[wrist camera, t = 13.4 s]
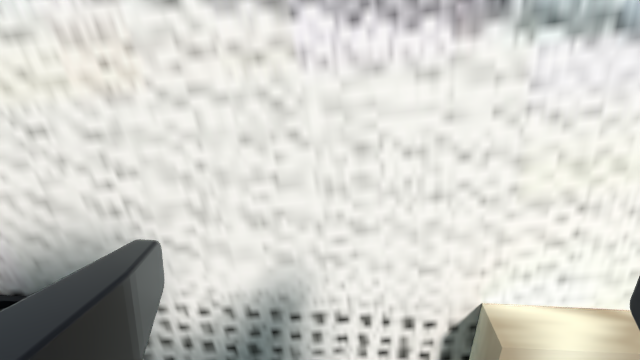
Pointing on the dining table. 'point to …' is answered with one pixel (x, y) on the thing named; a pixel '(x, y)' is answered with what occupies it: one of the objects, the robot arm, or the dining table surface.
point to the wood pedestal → (554, 334)
